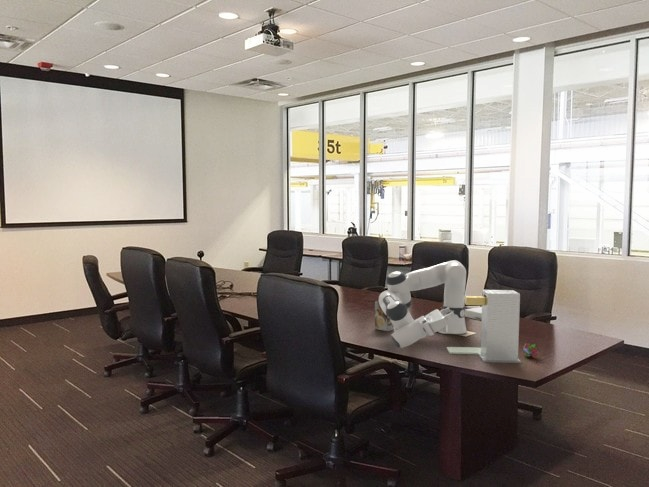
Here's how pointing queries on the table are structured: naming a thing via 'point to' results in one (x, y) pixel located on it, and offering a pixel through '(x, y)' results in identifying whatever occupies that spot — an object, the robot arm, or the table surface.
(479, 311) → the disc drive
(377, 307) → the coffee box
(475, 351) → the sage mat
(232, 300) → the table surface
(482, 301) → the brass bar
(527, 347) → the geometric puzzle
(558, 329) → the table surface
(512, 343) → the rack post
